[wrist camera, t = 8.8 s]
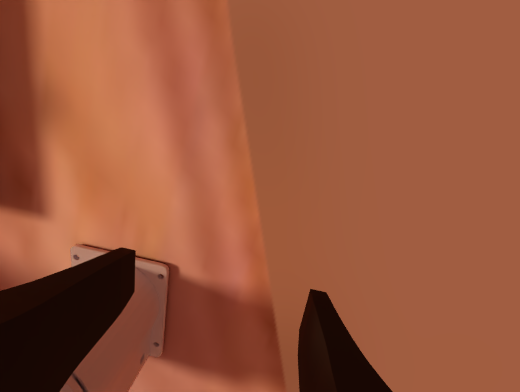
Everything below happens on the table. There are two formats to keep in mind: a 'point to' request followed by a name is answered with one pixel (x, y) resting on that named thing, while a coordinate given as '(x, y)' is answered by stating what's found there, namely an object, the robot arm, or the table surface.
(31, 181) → the table surface
